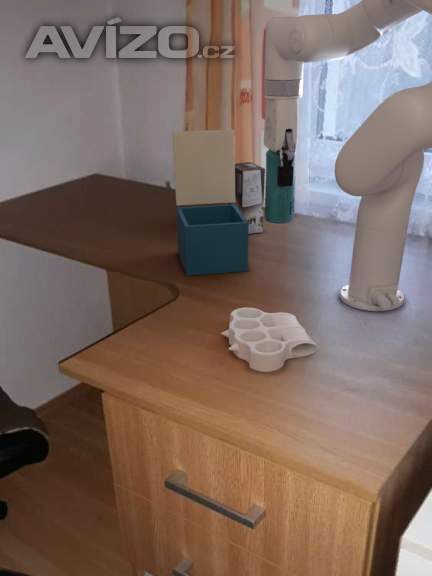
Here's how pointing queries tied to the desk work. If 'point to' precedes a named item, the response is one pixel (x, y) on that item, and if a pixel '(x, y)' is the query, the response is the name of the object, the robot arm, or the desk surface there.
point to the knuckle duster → (267, 338)
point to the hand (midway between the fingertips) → (280, 181)
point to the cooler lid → (204, 167)
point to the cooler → (212, 239)
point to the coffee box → (250, 194)
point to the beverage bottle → (278, 192)
